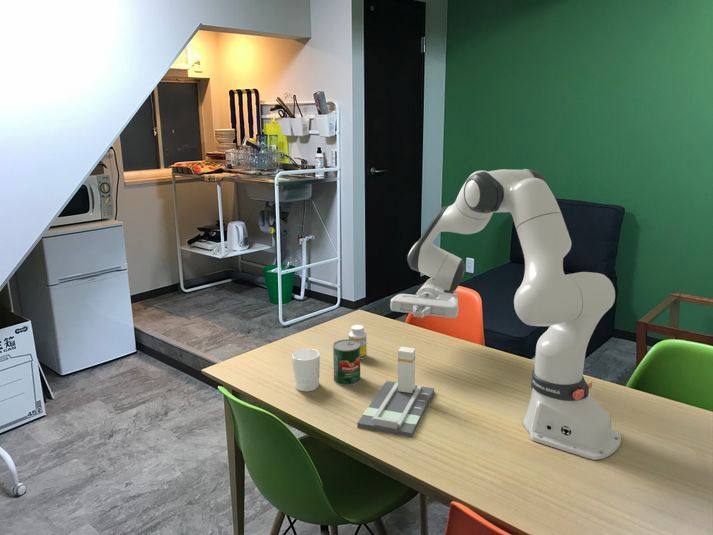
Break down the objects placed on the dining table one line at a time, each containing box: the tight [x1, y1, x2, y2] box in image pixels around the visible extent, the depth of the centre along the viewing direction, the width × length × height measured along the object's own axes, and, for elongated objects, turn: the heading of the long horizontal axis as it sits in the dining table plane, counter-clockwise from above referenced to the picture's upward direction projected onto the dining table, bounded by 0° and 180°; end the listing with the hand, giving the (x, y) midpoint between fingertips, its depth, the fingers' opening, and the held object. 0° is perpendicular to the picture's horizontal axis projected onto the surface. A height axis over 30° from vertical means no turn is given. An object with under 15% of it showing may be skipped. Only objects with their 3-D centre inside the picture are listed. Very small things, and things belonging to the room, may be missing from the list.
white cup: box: [291, 348, 321, 392], centre depth 164 cm, size 8×8×10 cm
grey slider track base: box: [356, 380, 435, 438], centre depth 152 cm, size 14×24×3 cm, turn 160°
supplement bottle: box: [348, 324, 368, 360], centre depth 183 cm, size 6×6×10 cm
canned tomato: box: [332, 338, 361, 386], centre depth 168 cm, size 8×8×11 cm
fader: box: [397, 346, 416, 393], centre depth 158 cm, size 4×3×12 cm
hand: (418, 314), depth 165 cm, fingers closed
